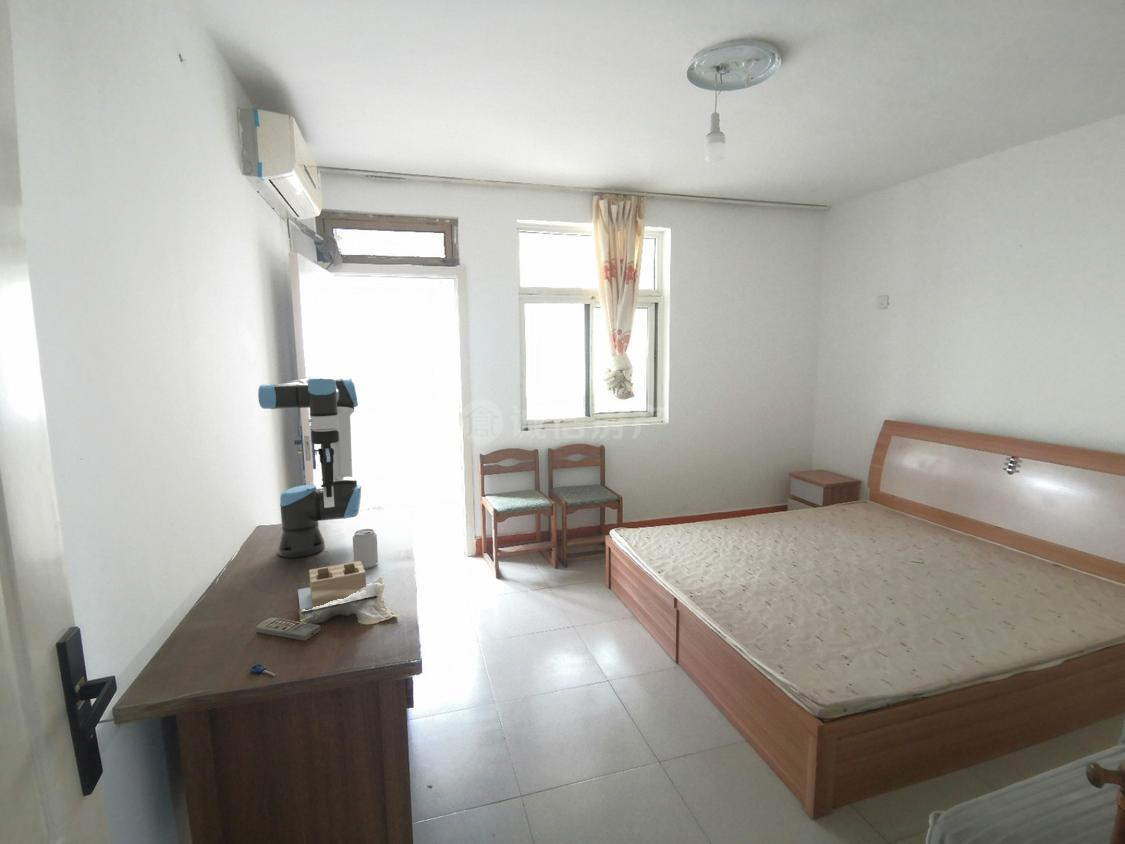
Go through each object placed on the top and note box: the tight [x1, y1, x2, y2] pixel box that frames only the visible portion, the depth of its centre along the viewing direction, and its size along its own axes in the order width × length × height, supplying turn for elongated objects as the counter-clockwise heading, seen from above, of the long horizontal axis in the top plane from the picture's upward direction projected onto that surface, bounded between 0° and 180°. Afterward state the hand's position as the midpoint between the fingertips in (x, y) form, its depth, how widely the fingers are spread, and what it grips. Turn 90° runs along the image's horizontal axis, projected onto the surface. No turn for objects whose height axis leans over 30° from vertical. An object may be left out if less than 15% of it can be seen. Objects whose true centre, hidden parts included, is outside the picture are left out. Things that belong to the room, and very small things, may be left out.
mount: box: [297, 575, 373, 613], centre depth 152 cm, size 14×20×4 cm
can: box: [352, 528, 379, 570], centre depth 173 cm, size 8×8×12 cm
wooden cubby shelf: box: [308, 561, 367, 607], centre depth 149 cm, size 10×14×7 cm
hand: (329, 506), depth 157 cm, fingers closed
